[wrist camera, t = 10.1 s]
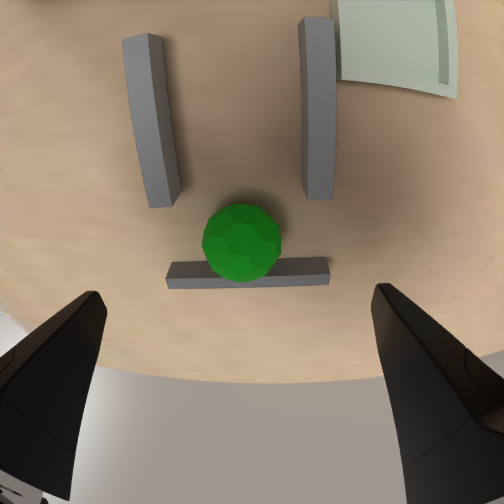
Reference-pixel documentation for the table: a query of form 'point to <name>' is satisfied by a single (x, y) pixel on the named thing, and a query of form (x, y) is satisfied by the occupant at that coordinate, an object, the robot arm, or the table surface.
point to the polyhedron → (241, 242)
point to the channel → (165, 161)
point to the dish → (397, 43)
